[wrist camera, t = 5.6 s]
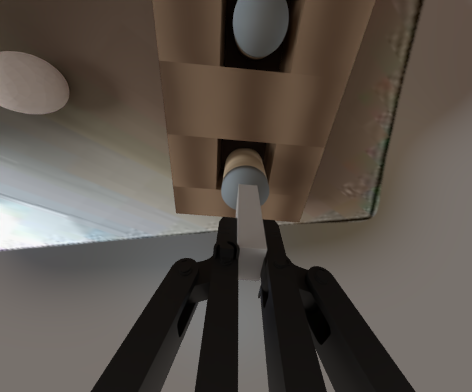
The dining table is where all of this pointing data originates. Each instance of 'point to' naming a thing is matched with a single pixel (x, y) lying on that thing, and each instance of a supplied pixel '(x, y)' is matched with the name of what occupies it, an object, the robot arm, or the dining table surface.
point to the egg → (30, 84)
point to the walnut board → (253, 99)
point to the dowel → (243, 175)
